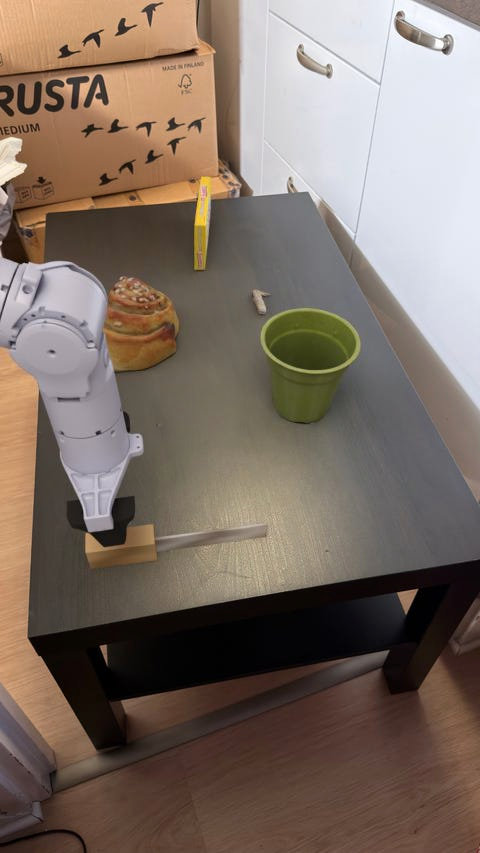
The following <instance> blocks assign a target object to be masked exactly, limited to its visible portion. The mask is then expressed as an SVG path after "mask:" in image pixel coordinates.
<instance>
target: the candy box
mask: <svg viewBox="0 0 480 853" xmlns="http://www.w3.org/2000/svg"><path fill="white" fill-rule="evenodd" d="M198 188H199V189H198V195H197V203H196V211H195V218H194V225H193V226H194V227H193V228H194V236H193V237H194V238H193V239H194V242H193V244H194V250H193V251H194V256H193V257H194V268H193V269H194V271H206V262H207V254H208V247H209V246H208V244H209V235H210V224H211V216H212V215H211V214H212V178H211V176H200V182H199V187H198Z"/></svg>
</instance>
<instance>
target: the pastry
mask: <svg viewBox="0 0 480 853" xmlns="http://www.w3.org/2000/svg"><path fill="white" fill-rule="evenodd" d="M107 299H108V304H107V314H106V319H105V323H104V327H103V332H104V333H105V337H106V341H107V346H108V350H109V355H110V358H111V361H112V364H113V368H114V373H121V372H127V371H131V372H132V371H133V372H134V371H135V372H136V371H143V370H146V369H149V368H153V367H154V366H156V365H158V364H159V363H161V362H163V361H165V360H166V359H168V358H169V357H171V356H172V355H174V354H175V353H176V352H177V342H176V337H177V336H178V334H179V332H180V326H181V324H180V319H179V317H178V315H177V312H176V310H175V307H174V304H173V301H172V300H171V299H170V298H169V297H168V296H167V295H166V294H164V293H163V292H161V291H159V290H156V289H155V288H153V287H152V286H150V285H148V284H147V283H145V282H143V281H142V280H140V279H139V278H136V277H128V276H120V278H119V280H118V282H115V283H114V285H113V287H112V288H111V289H110V291H109V293H108V295H107Z"/></svg>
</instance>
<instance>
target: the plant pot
mask: <svg viewBox="0 0 480 853" xmlns="http://www.w3.org/2000/svg"><path fill="white" fill-rule="evenodd" d="M259 337H260V338H259V339H260V344H261V348H262V349H263V351H264V352H265V355H266V359H267V360H266V361H267V362H268V367H269V368H268V369H269V375H270V376H269V377H270V385H271V391H272V392H271V393H272V401H273V406H274V408H275V410H276V412H277V413H278V414H279V415H280V416H281V417H282V418H283V419H285V420H287V421H289V422H293V423H305V424H311V423H314V422H316V421H320V419H322V418H323V417H324V416H325V415H326V414H327V413H328V410H329V408H330V406H331V404H332V401H333V400H334V397H335V394H336V392H337V390H338V387H339V386H340V384H341V381H342V379H343V377H344V374H345V373H346V372H347V371H348V368H349V367H350V365H351V364H352V363H354V361H355V360H356V359H357V357H358V356H359V354H360V351H361V346H362V345H361V344H362V343H361V339H360V336H359V333H358V331H357V330H356V329H355V327H353V325H352V324H351V323H350V322H349V321H347V320H346V319H345V318H343V317H341V316H340V315H337V314H335V313H333V312H330V311H327V310H324V309H318V308H310V307H301V308H293V309H287V310H284V311H281V312H279V313H277V314H275V315H273V316H272V317H270V318H269V319H268V320H267V321H266V322H265V323H264V324H263V326H262V328H261V331H260V336H259Z"/></svg>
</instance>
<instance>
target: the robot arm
mask: <svg viewBox="0 0 480 853" xmlns="http://www.w3.org/2000/svg"><path fill="white" fill-rule="evenodd" d="M107 296H108V295H107V291H106V289H105V287H104V285H103V284H102V282H101V280H99V279H98V278H97V277H96V276H95V275H94V274H93V273H91V272H90V271H88V270H86V269H84V268H82V267H80V266H79V265H77V264H76V263H74V262H73V261H72V262H71V261H66V260H65V261H64V260H55V261H49V262H44V263H41V264H40V263H39V264H38V263H35V262H30V261H29V262H28V263H25V262H23V263H21V264H20V263H18V262H15V261H13V260H11V259H7V258H5V257H2V256H0V347H2V348H4V349H7V353H8V354H9V356H10V358H11V359H12V360H13V361H14V363H15V364H16V365H17V366H18V367H19V368H20V369H21V370H23V371H24V372H25V373H27V374H29V375H30V376H32V378H33V379H34V380H35V381H36V384H37V387H38V390H39V393H40V396H41V398H42V402H43V404H44V408H45V411H46V413H47V416H48V419H49V422H50V425H51V429H52V432H53V434H54V437H55V439H56V443H57V446H58V448H59V458H60V461H61V464H62V467H63V469H64V471H65V474H66V475H67V477H68V479H69V482H70V483H71V486H72V488H73V490H74V492H75V495H76V496H77V499H73V500H67V501H66V520H67V522H68V524H69V526H70V527H71V529H74V530H79V531H82V532H85V533H89V534H90V535H92V536H93V537H94V538H95V539H96V540H97V541H98V542H99V543H100V544H101V545H102V546H103V547H110V546H117V545H124V544H125V541H126V536H127V528H128V527H129V524H130V523H131V522H132V521H133V520H134V519H135V515H136V496H135V495H128V496H120V497H116V496H117V495H118V492H119V489H120V487H121V485H122V482H123V480H124V477H125V474H126V471H127V470H128V469H127V468H128V466H129V464H130V461H131V459H132V458H134V457H139V456H142V455H143V454H144V452H145V449H144V439H143V436H142V434H140V433H130V432H131V419H130V415H129V413H128V412H126V411H125V410H123V408H122V401H121V397H120V392H119V387H118V383H117V378H116V372H114V368H113V364H112V361H111V358H110V355H109V350H108V346H107V341H106V337H105V333H104V332H103V327H104V323H105V319H106V314H107V304H108V299H107Z"/></svg>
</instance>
